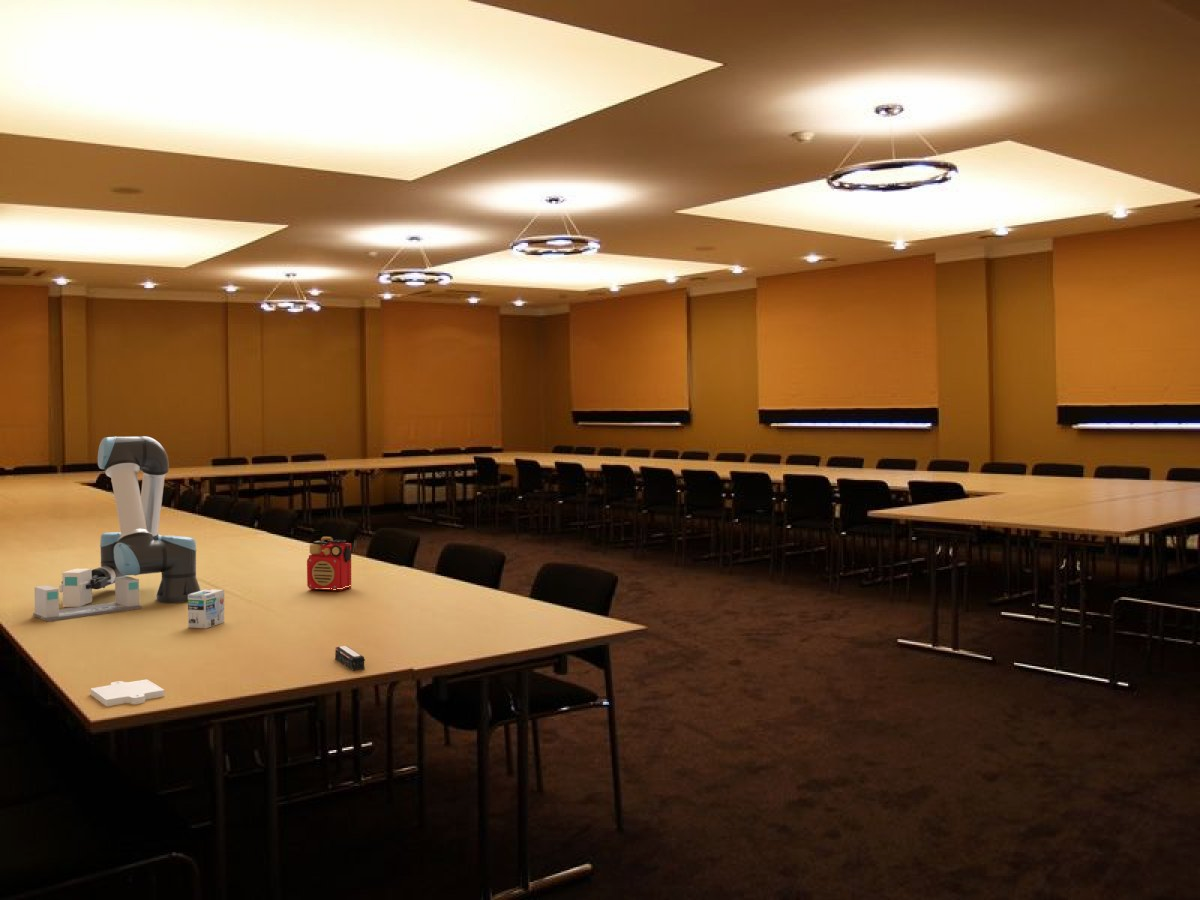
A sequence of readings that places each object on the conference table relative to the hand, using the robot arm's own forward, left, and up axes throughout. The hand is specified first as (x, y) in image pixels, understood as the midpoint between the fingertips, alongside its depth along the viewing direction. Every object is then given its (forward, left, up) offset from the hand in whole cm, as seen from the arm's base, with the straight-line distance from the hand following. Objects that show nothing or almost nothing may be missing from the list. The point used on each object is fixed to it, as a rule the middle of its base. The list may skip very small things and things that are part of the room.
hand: (70, 588), depth 348 cm
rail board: (-10, +9, -7) cm, 15 cm away
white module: (0, -5, -7) cm, 8 cm away
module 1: (-1, +18, -6) cm, 19 cm away
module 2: (-19, 0, -7) cm, 20 cm away
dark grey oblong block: (-113, +81, -8) cm, 139 cm away
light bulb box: (-57, +31, -7) cm, 65 cm away
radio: (-82, -34, -7) cm, 89 cm away
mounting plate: (-66, +112, -7) cm, 130 cm away
